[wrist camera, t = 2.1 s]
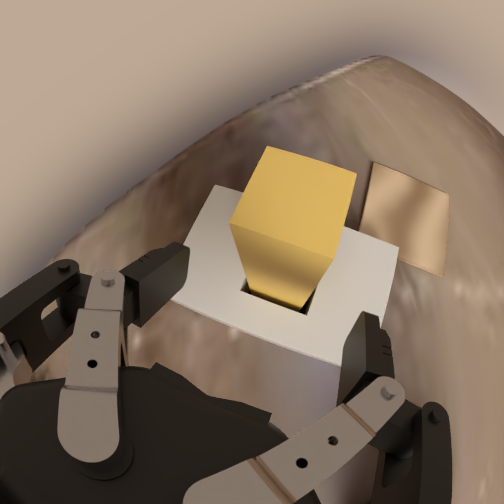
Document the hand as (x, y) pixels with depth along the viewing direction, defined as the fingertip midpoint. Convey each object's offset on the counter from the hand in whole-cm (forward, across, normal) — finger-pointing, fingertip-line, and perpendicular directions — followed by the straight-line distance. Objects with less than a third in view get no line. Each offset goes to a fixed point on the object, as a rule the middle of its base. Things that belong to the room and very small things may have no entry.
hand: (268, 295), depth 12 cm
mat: (+18, -10, -2) cm, 21 cm away
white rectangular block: (+10, 0, +6) cm, 12 cm away
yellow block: (+10, 0, +6) cm, 12 cm away
